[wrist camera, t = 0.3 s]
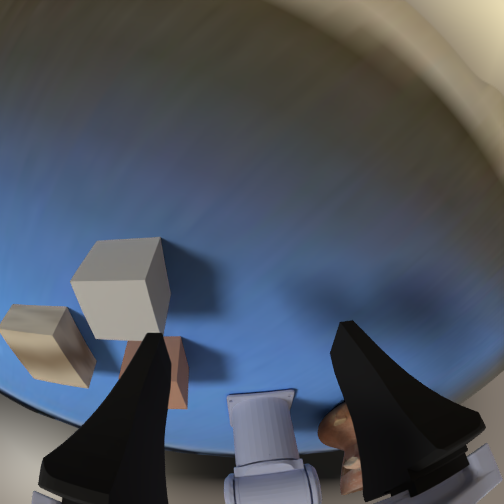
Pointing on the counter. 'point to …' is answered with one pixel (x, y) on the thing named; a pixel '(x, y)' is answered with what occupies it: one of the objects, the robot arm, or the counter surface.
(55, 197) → the counter surface
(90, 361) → the birch plinth
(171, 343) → the terracotta cube
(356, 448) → the ceramic jug
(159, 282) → the grey block
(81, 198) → the counter surface
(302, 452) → the counter surface
